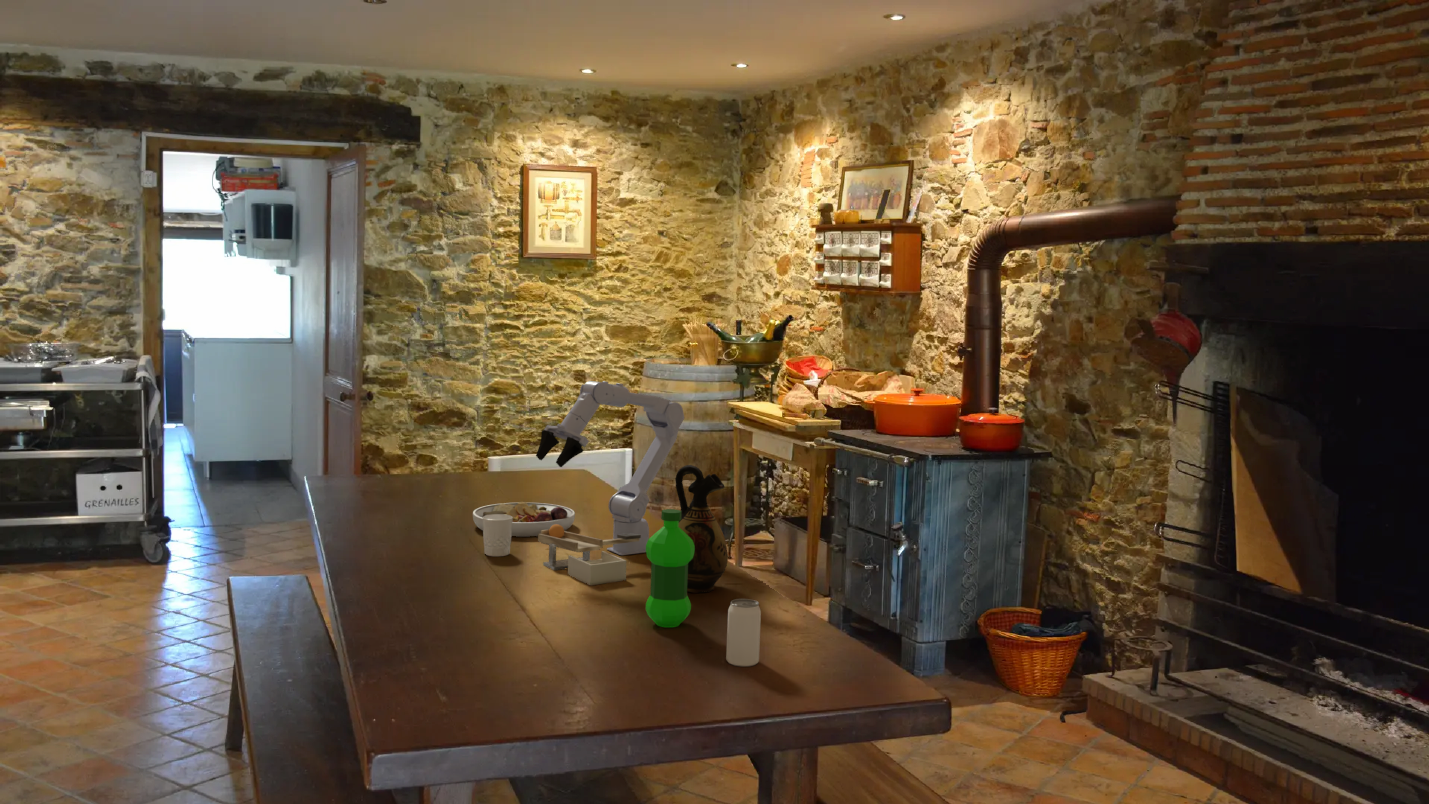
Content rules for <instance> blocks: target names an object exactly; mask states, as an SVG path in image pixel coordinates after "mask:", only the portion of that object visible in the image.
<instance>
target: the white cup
mask: <svg viewBox="0 0 1429 804" xmlns="http://www.w3.org/2000/svg"><path fill="white" fill-rule="evenodd" d="M512 520H513V517H512V516H510V515H504V514H491V515H486V516H483V530H482V535H483V538H482V539H483V547H484V549H483V550H484V551H483V553H484V555H485V554H486V556H488V557H504V556H509V555H510V553H511V543H512Z"/></svg>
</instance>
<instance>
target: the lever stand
mask: <svg viewBox="0 0 1429 804" xmlns="http://www.w3.org/2000/svg"><path fill="white" fill-rule="evenodd" d="M577 558H578V559H580V560H583V561H589V560H591V551H586V552H582V557H577ZM542 565H543V566H545V567H546V568H548V569H550V568H551V570H553V571H560V569H562V570H566V569H565V568H568V558H567V559H566V558H565V559H560V560H559V559H557V547H556V545H555V544H549V545H548V561H543V564H542Z"/></svg>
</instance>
